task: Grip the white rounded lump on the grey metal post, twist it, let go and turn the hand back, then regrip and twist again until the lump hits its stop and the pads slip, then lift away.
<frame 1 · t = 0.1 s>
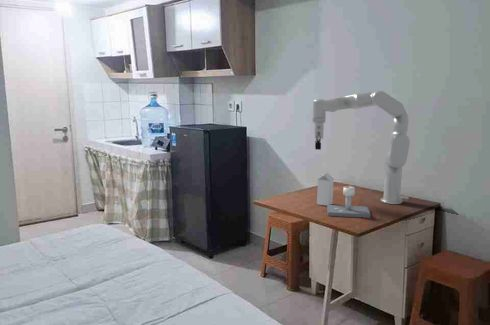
hand: (317, 148, 259), 31 cm above the table, tool pointing down, fingers open, 9 cm apart
milk carton: (324, 204, 251), on the table
post stand: (347, 212, 234), on the table
white rounded lump: (348, 190, 232), point 12 cm above the table, hinge at 0.0°
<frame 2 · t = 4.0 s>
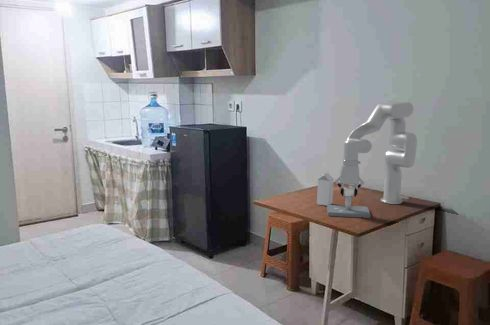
hand: (348, 195, 232), 10 cm above the table, tool pointing down, fingers closed on white rounded lump, 6 cm apart
white rounded lump: (348, 190, 232), point 12 cm above the table, hinge at -0.1°, touching gripper
everything else where it was.
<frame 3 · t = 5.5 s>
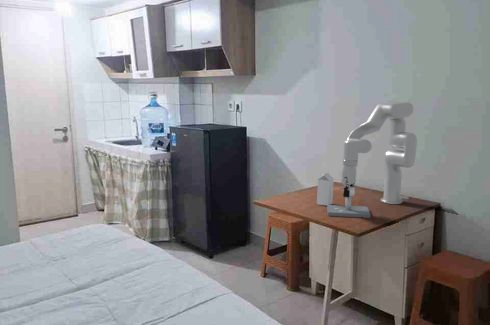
hand: (348, 195, 232), 10 cm above the table, tool pointing down, fingers closed on white rounded lump, 6 cm apart
white rounded lump: (348, 190, 232), point 12 cm above the table, hinge at 19.4°, touching gripper
everything else where it was.
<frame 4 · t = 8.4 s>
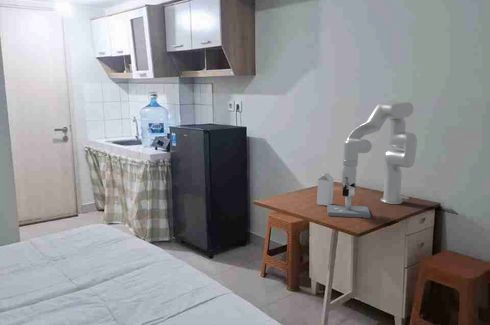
hand: (348, 194, 232), 10 cm above the table, tool pointing down, fingers open, 9 cm apart
white rounded lump: (348, 190, 232), point 12 cm above the table, hinge at 24.2°
everything else where it was.
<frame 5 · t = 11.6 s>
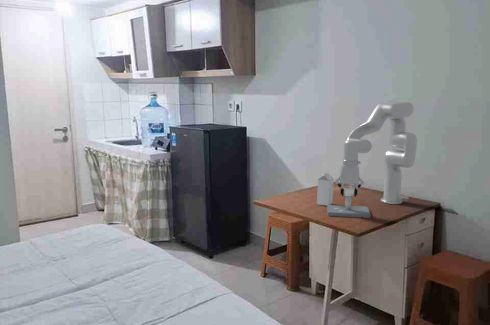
hand: (348, 195, 232), 10 cm above the table, tool pointing down, fingers closed on white rounded lump, 6 cm apart
white rounded lump: (348, 190, 232), point 12 cm above the table, hinge at 24.2°, touching gripper
everything else where it was.
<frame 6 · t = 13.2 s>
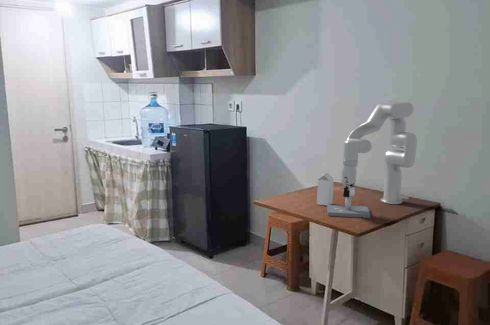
hand: (348, 195, 232), 10 cm above the table, tool pointing down, fingers closed on white rounded lump, 6 cm apart
white rounded lump: (348, 190, 232), point 12 cm above the table, hinge at 42.6°, touching gripper
everything else where it was.
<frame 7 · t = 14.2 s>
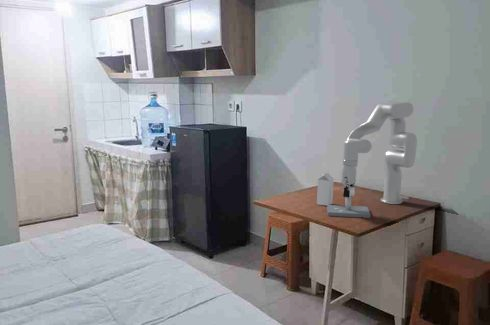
hand: (348, 195, 232), 10 cm above the table, tool pointing down, fingers closed on white rounded lump, 6 cm apart
white rounded lump: (348, 190, 232), point 12 cm above the table, hinge at 47.7°, touching gripper
everything else where it was.
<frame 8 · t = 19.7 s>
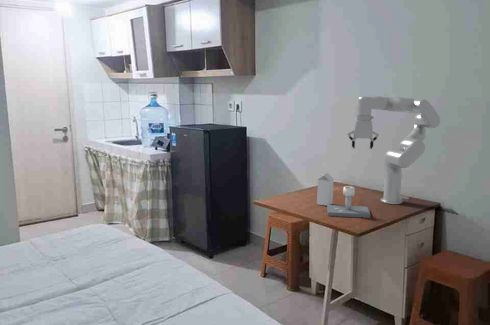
hand: (362, 148, 245), 33 cm above the table, tool pointing down, fingers open, 9 cm apart
white rounded lump: (348, 190, 232), point 12 cm above the table, hinge at 48.3°
everything else where it was.
at the end: white rounded lump at +48° (first picture: +0°); the gripper is holding nothing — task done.
